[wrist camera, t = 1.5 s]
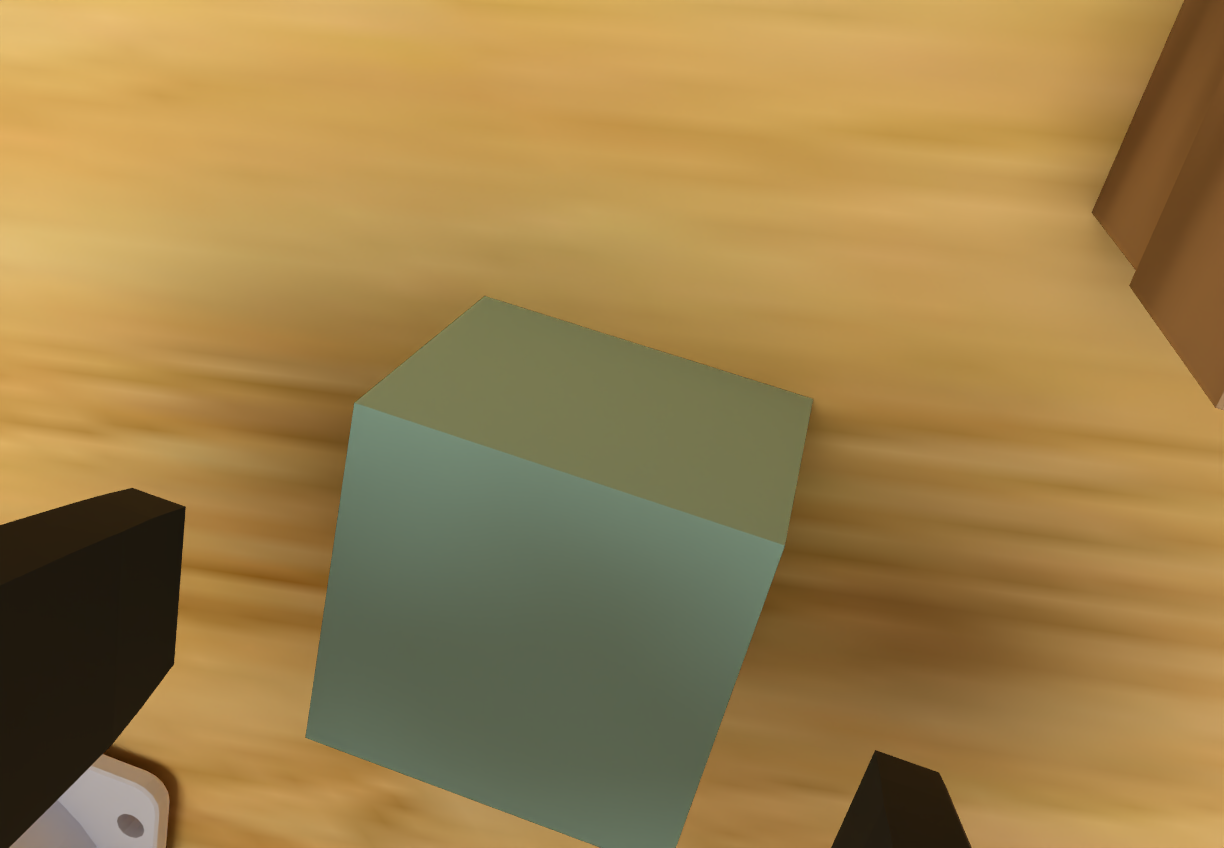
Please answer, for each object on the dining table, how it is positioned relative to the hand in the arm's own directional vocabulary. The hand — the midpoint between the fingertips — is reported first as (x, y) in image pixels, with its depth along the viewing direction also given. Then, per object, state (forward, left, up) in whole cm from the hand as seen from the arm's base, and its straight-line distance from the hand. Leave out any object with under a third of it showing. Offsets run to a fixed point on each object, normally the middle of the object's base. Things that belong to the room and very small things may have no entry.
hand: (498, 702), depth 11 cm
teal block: (0, 0, -5) cm, 5 cm away
